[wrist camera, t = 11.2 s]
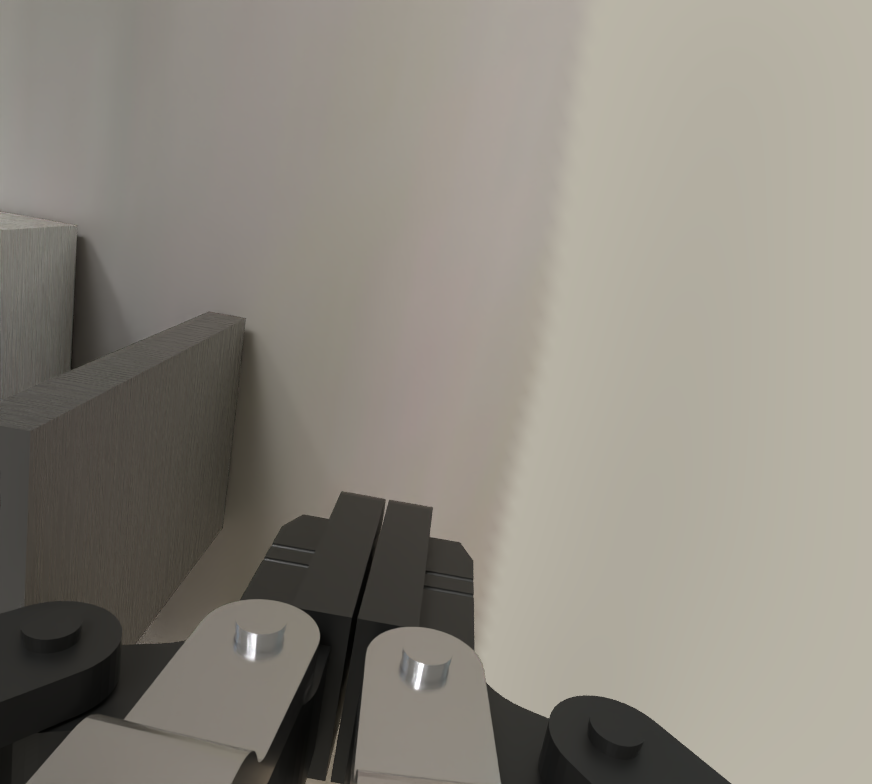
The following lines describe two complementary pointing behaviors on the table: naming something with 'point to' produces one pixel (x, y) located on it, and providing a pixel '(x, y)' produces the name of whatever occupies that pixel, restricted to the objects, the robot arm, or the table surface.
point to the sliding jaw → (105, 442)
